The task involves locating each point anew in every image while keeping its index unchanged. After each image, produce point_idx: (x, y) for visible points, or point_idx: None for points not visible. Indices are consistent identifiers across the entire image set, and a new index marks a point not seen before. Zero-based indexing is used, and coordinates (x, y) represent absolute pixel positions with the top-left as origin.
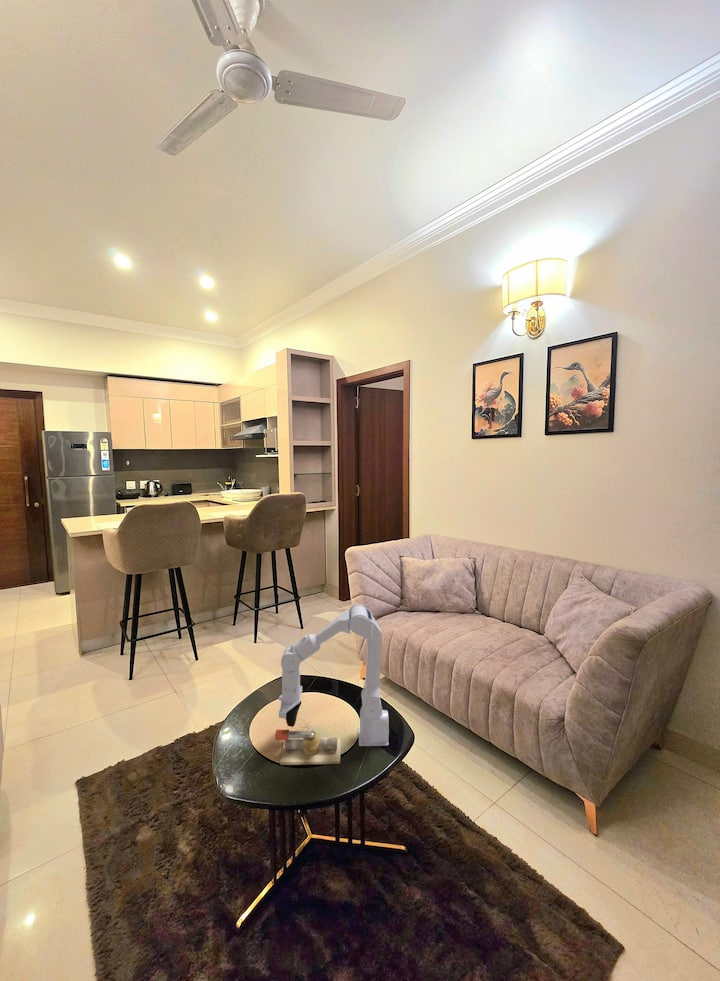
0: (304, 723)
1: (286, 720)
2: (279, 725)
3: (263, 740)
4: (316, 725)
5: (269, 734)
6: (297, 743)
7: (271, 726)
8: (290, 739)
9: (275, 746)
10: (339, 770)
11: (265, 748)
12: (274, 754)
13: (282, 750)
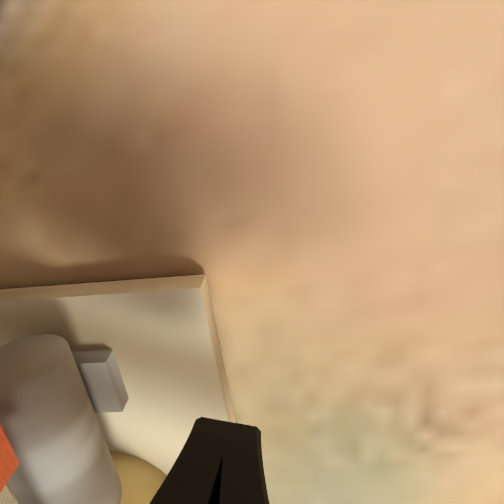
0: (487, 400)
1: (159, 494)
2: (484, 149)
3: (183, 11)
4: (445, 486)
5: (304, 61)
6: (14, 491)
7: (474, 36)
8: (22, 443)
9: (120, 196)
10: None
11: (62, 89)
12: (16, 214)
13: (34, 301)
